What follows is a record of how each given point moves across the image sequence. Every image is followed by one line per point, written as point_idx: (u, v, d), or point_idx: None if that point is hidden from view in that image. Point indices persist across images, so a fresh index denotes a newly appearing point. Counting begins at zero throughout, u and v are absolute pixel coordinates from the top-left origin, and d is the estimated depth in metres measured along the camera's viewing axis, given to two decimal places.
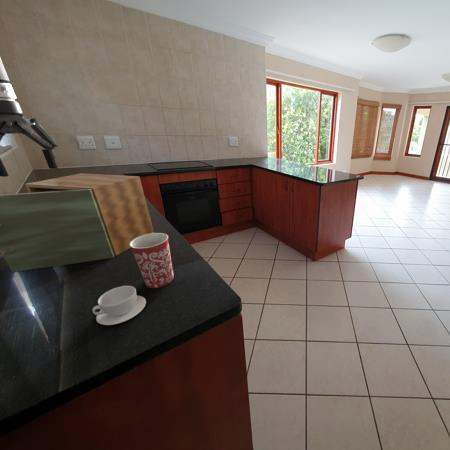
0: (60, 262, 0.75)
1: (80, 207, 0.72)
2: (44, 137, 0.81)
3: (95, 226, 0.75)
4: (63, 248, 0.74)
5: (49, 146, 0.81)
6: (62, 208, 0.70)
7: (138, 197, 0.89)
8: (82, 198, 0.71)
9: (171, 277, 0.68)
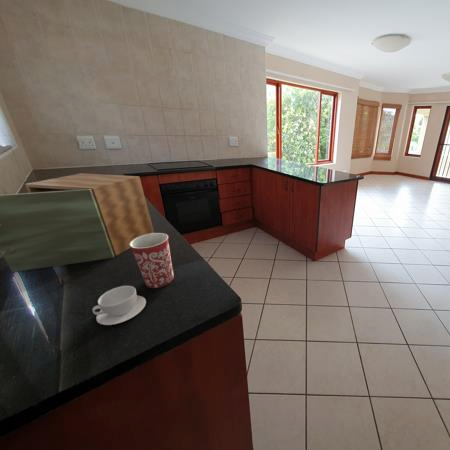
0: (60, 262, 0.75)
1: (80, 207, 0.72)
2: None
3: (95, 226, 0.75)
4: (63, 248, 0.74)
5: None
6: (62, 208, 0.70)
7: (138, 197, 0.89)
8: (82, 198, 0.71)
9: (171, 277, 0.68)
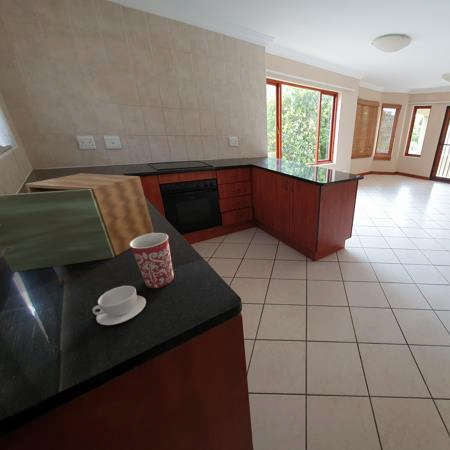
0: (60, 262, 0.75)
1: (80, 207, 0.72)
2: None
3: (95, 226, 0.75)
4: (63, 248, 0.74)
5: None
6: (62, 208, 0.70)
7: (138, 197, 0.89)
8: (82, 198, 0.71)
9: (171, 277, 0.68)
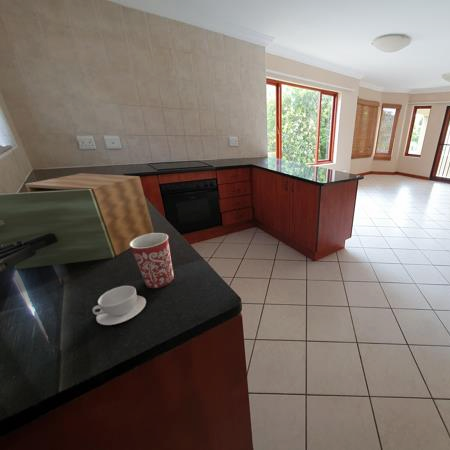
0: (61, 261, 0.76)
1: (80, 207, 0.72)
2: None
3: (95, 226, 0.75)
4: (64, 247, 0.75)
5: None
6: (63, 208, 0.71)
7: (138, 197, 0.89)
8: (82, 198, 0.71)
9: (171, 277, 0.68)
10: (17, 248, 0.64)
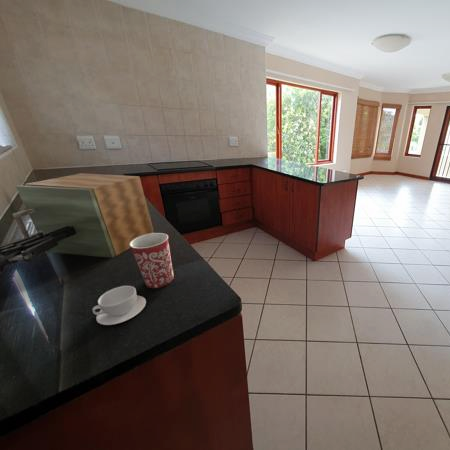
0: (75, 252, 0.81)
1: (83, 205, 0.73)
2: None
3: (96, 225, 0.76)
4: (75, 240, 0.79)
5: None
6: (71, 204, 0.74)
7: (138, 197, 0.89)
8: (84, 197, 0.72)
9: (171, 277, 0.68)
10: (41, 239, 0.69)
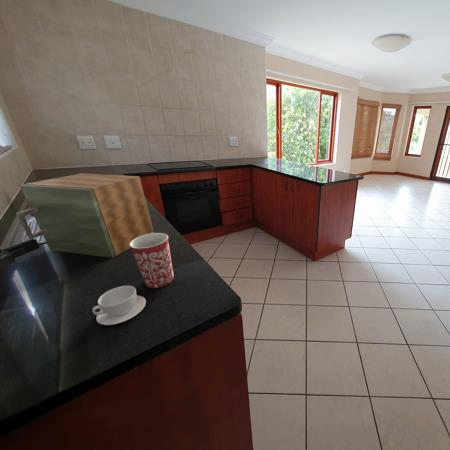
0: (77, 251, 0.82)
1: (84, 205, 0.74)
2: None
3: (96, 225, 0.76)
4: (77, 239, 0.80)
5: None
6: (72, 204, 0.74)
7: (138, 197, 0.89)
8: (84, 197, 0.72)
9: (171, 277, 0.68)
10: None
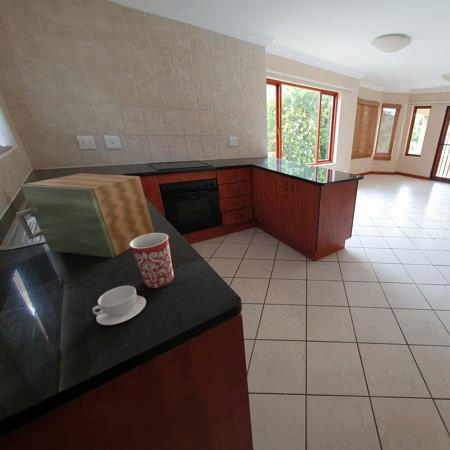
0: (77, 251, 0.82)
1: (84, 205, 0.74)
2: None
3: (96, 225, 0.76)
4: (77, 239, 0.80)
5: None
6: (72, 204, 0.74)
7: (138, 197, 0.89)
8: (84, 197, 0.72)
9: (171, 277, 0.68)
10: None
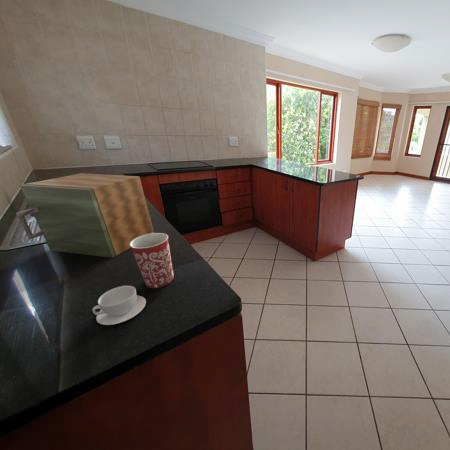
0: (77, 251, 0.82)
1: (84, 205, 0.74)
2: None
3: (96, 225, 0.76)
4: (77, 239, 0.80)
5: None
6: (72, 204, 0.74)
7: (138, 197, 0.89)
8: (84, 197, 0.72)
9: (171, 277, 0.68)
10: None
